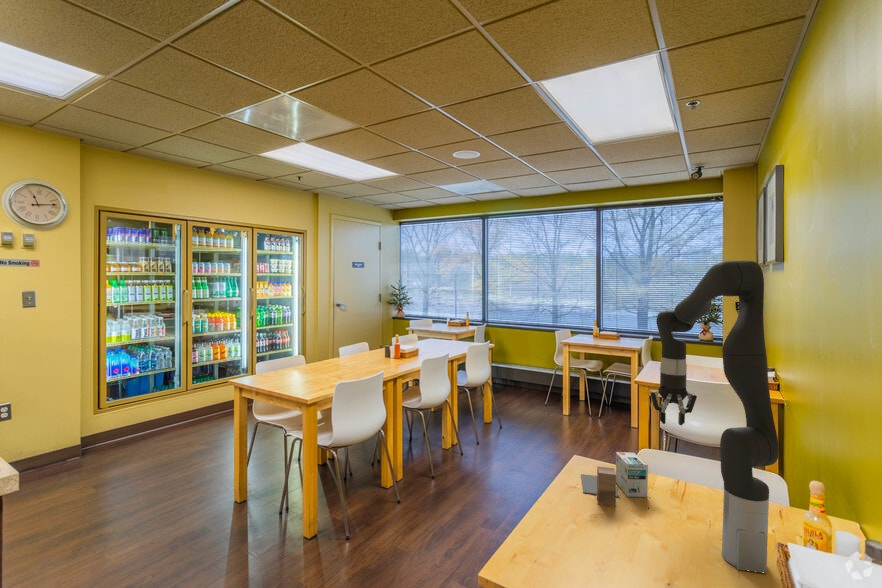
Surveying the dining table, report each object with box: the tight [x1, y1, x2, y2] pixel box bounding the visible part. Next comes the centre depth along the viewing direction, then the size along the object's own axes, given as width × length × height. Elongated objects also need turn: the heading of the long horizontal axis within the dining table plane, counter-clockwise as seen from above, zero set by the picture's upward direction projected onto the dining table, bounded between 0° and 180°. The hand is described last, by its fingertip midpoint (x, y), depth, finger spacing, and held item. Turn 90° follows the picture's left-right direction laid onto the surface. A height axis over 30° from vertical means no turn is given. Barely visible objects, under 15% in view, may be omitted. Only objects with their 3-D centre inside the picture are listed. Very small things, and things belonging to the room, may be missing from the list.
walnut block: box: [596, 466, 617, 507], centre depth 138 cm, size 5×5×10 cm
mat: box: [580, 473, 620, 498], centre depth 149 cm, size 14×11×1 cm
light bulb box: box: [615, 451, 649, 498], centre depth 146 cm, size 11×7×11 cm, turn 179°
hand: (671, 423), depth 143 cm, fingers open, 4 cm apart
